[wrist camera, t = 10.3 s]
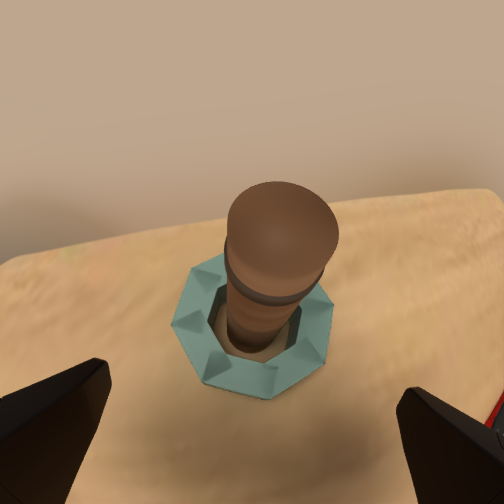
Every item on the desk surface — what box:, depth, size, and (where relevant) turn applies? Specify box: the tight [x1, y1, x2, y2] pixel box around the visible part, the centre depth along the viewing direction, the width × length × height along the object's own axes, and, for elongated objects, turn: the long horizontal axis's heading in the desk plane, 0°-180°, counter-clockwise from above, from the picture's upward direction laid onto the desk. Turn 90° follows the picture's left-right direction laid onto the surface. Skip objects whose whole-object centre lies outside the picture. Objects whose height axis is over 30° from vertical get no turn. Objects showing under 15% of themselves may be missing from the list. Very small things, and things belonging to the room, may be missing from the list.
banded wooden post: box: [224, 182, 339, 353], centre depth 14 cm, size 4×4×13 cm
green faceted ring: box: [171, 253, 334, 400], centre depth 18 cm, size 10×10×4 cm
